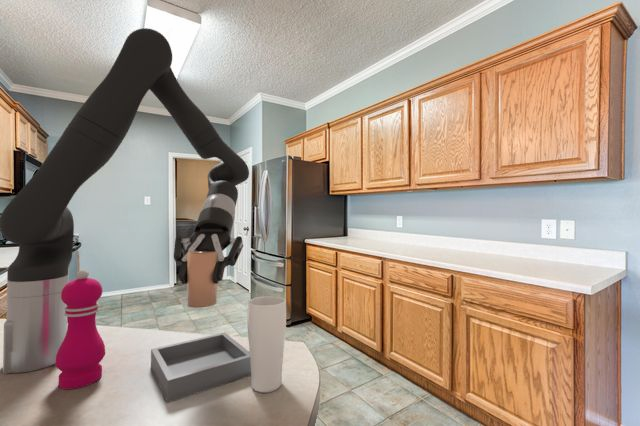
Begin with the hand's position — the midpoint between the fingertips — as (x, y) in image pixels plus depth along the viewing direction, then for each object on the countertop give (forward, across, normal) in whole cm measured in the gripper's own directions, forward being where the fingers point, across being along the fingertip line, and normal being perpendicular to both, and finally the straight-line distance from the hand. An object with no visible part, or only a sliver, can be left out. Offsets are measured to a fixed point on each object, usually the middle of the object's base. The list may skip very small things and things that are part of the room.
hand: (199, 281), depth 59 cm
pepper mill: (+13, -21, +12) cm, 27 cm away
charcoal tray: (+11, 0, +14) cm, 18 cm away
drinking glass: (+16, +13, +10) cm, 23 cm away
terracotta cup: (+2, 0, +5) cm, 5 cm away
